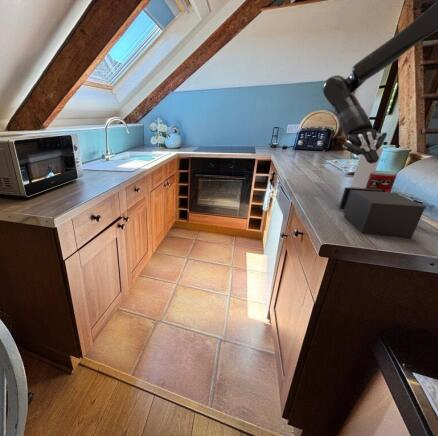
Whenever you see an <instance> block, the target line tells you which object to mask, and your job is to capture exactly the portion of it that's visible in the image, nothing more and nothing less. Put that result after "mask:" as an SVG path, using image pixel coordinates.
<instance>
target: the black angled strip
mask: <svg viewBox="0 0 438 436" xmlns="http://www.w3.org/2000/svg"><path fill="white" fill-rule="evenodd" d="M352 190H358V191H374V192H382V191H383V190H381V189H364V188H354V187H344V190H343V193H342V196H341V200H340V203H339V206H338V209H340V210H344V211H345V212H346V209H347V205H348V202H349V199H350V196H351V193H352Z"/></svg>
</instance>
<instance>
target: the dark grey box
mask: <svg viewBox="0 0 438 436" xmlns="http://www.w3.org/2000/svg"><path fill="white" fill-rule="evenodd" d="M425 209H426V206H425V205H423V204H421V203H419V202H416V201H414V200H412V199H410V198H409V197H406V196H404V195H402V194H400V193H397V192H391V191H390V192H374V191H358V190H352V193H351V196H350V199H349V202H348V205H347V209H346V211H345V212H344V215H343V217H344V219H345V220H346V221H347V222H348V223H349V224H351V225H352V226H353V227H354V228H355V229H356V230H357V231H358V232H359V233H360V234H363V235H364V234H365V235H373V236H383V237H392V238H393V237H394V238H403V239H412V238H413V236H414V233H415V231H416V229H417V227H418V224H419V222H420V219H421V218H422V215H423V213H424V211H425Z"/></svg>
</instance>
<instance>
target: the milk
mask: <svg viewBox="0 0 438 436" xmlns="http://www.w3.org/2000/svg"><path fill="white" fill-rule="evenodd" d="M376 143H377V140H376V139H374V145H376ZM384 148H385V147H384V146H383V145H382V146H381V147H380V148H379V149H378V150H377V151H376V152H377V154H378V156H379V159H378V161H377V162H376V163H372V164H370V163H368V162H367V161H366V159H365V157H364V155H360V154H359V158H358V161H357V164H356V167H355V171H354V174H353V177H352V179H351V184H350V188H364V189H365V188H366V185H367V182H368V179H369V176H370V173H371V171H377V168H378V165H379V162H380V160H381V156H382V153H383V151H384Z"/></svg>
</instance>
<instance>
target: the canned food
mask: <svg viewBox="0 0 438 436" xmlns="http://www.w3.org/2000/svg"><path fill="white" fill-rule="evenodd" d="M397 175H398V172H394V171H388V170H376V171H371V173H370V176H369V179H368V182H367V185H366V188H365V189H381V190H383V191H382V192H391V191H392V188H393V186H394V184H395V181H396V179H397Z"/></svg>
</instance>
